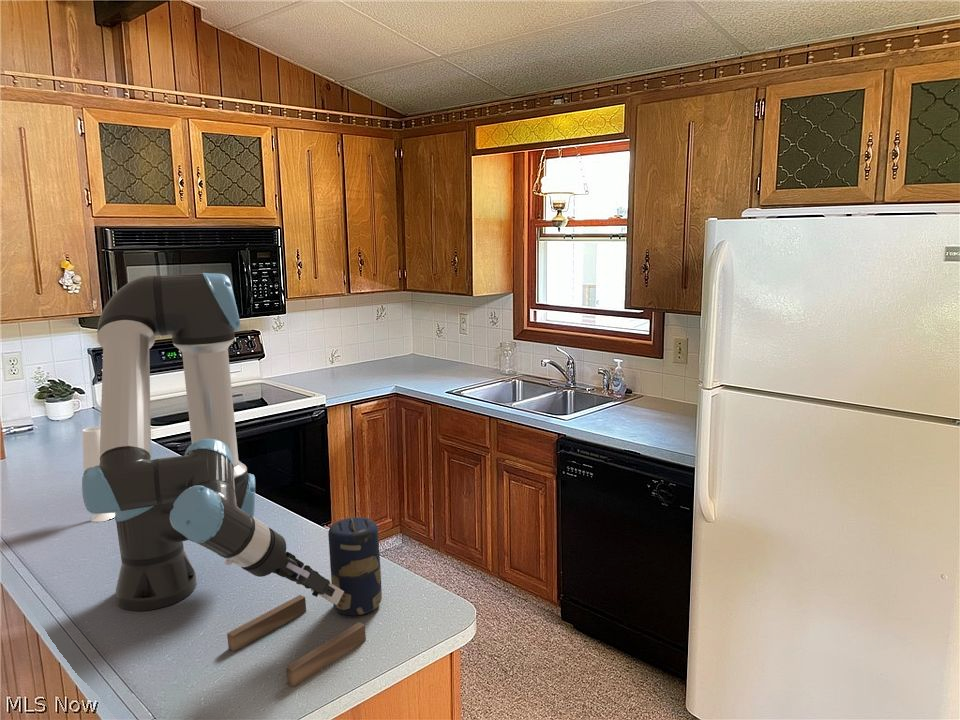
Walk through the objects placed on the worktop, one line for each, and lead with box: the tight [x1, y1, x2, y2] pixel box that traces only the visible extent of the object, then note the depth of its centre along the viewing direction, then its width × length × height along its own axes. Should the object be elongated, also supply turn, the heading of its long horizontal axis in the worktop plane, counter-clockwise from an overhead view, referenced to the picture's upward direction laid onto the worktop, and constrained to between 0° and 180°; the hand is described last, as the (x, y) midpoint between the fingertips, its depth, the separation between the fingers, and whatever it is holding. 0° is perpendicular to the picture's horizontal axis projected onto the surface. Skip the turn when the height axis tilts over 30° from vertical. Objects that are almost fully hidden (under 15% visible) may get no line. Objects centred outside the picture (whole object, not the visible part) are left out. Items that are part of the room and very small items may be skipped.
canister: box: [327, 516, 383, 616], centre depth 136 cm, size 10×10×18 cm
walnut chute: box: [226, 594, 367, 688], centre depth 125 cm, size 18×16×3 cm
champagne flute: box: [82, 425, 115, 522], centre depth 181 cm, size 7×7×24 cm
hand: (338, 597), depth 131 cm, fingers closed
